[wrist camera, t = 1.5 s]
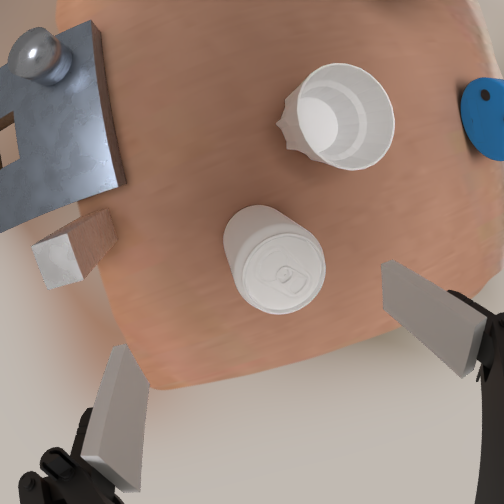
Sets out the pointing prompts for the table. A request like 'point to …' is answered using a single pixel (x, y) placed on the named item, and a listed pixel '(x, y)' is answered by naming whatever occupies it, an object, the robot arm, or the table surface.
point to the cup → (339, 117)
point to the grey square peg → (75, 249)
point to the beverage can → (273, 260)
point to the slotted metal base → (56, 123)
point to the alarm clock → (485, 116)
